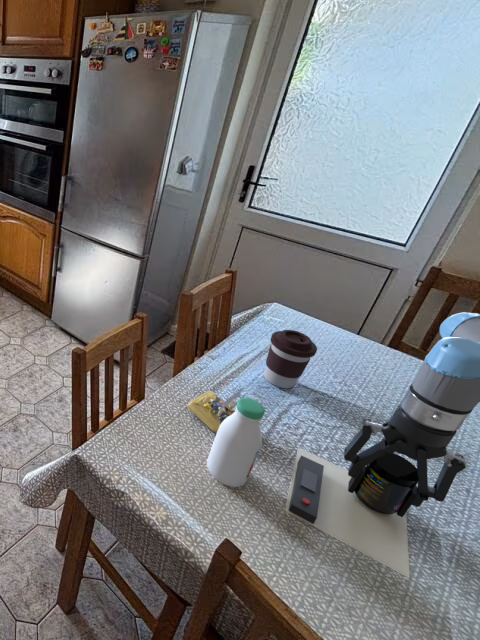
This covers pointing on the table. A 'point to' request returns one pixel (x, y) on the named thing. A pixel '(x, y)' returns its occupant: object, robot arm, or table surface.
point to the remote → (306, 489)
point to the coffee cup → (288, 357)
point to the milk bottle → (237, 444)
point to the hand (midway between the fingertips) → (374, 499)
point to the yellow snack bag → (213, 408)
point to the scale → (356, 519)
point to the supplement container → (387, 483)
